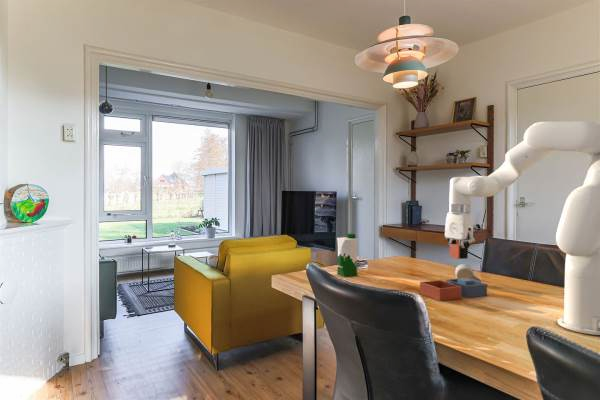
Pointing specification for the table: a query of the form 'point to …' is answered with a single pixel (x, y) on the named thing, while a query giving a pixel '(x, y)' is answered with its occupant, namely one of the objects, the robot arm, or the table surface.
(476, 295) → the slate bin
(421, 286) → the terracotta bin
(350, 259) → the milk carton
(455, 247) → the terracotta block
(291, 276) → the table surface
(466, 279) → the slate block
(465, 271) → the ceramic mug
